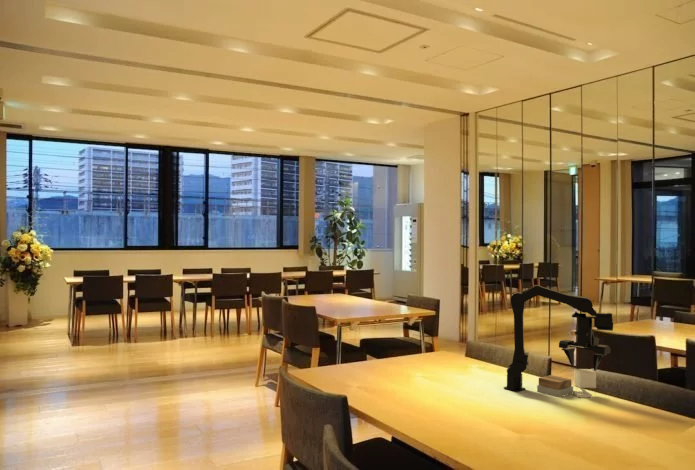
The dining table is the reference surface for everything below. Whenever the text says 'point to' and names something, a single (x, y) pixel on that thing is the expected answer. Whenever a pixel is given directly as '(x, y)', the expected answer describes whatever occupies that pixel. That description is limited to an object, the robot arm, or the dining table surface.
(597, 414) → the dining table surface
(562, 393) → the tower base
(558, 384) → the tower top
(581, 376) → the security camera
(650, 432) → the dining table surface
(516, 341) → the robot arm
